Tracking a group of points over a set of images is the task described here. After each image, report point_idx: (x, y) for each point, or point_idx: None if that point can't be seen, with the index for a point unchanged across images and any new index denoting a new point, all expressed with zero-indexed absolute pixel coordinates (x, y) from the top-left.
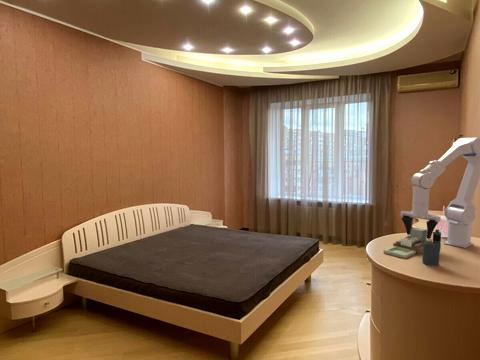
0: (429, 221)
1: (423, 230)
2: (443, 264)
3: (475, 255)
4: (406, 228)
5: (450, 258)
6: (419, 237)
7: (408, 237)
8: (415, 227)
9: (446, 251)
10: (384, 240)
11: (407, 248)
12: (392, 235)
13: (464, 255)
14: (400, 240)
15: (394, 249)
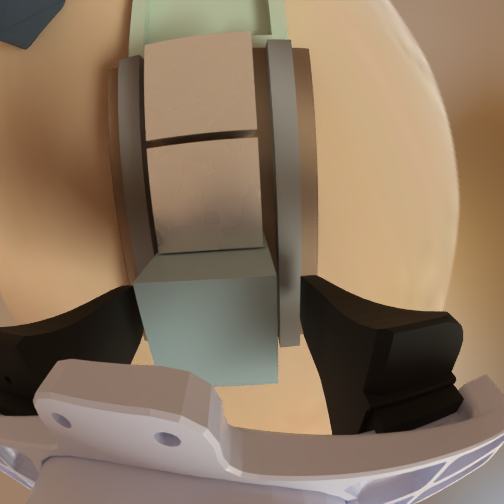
0: (18, 377)
1: (144, 321)
2: (8, 69)
3: (17, 325)
4: (338, 291)
5: (14, 182)
6: (161, 228)
7: (225, 126)
8: (276, 378)
9: (78, 292)
10: (427, 210)
11: None
12: None
13: (22, 291)
14: (284, 95)
15: (268, 26)
